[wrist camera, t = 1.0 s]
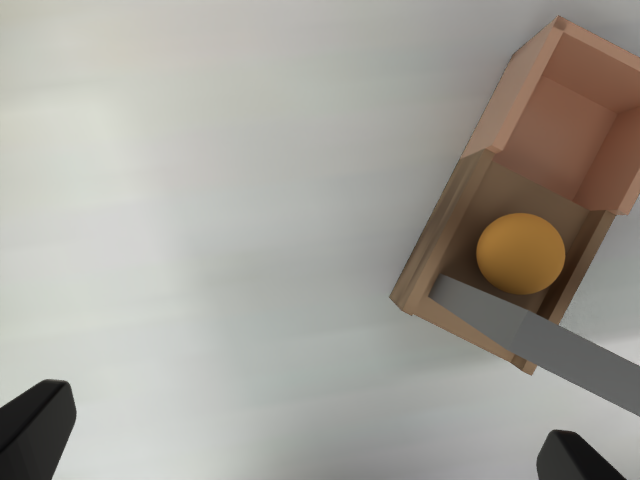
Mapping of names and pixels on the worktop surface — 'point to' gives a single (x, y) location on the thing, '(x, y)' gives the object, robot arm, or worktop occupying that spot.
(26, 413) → the robot arm
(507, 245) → the ball
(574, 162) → the cup
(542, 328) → the plunger
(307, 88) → the worktop surface
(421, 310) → the tray
